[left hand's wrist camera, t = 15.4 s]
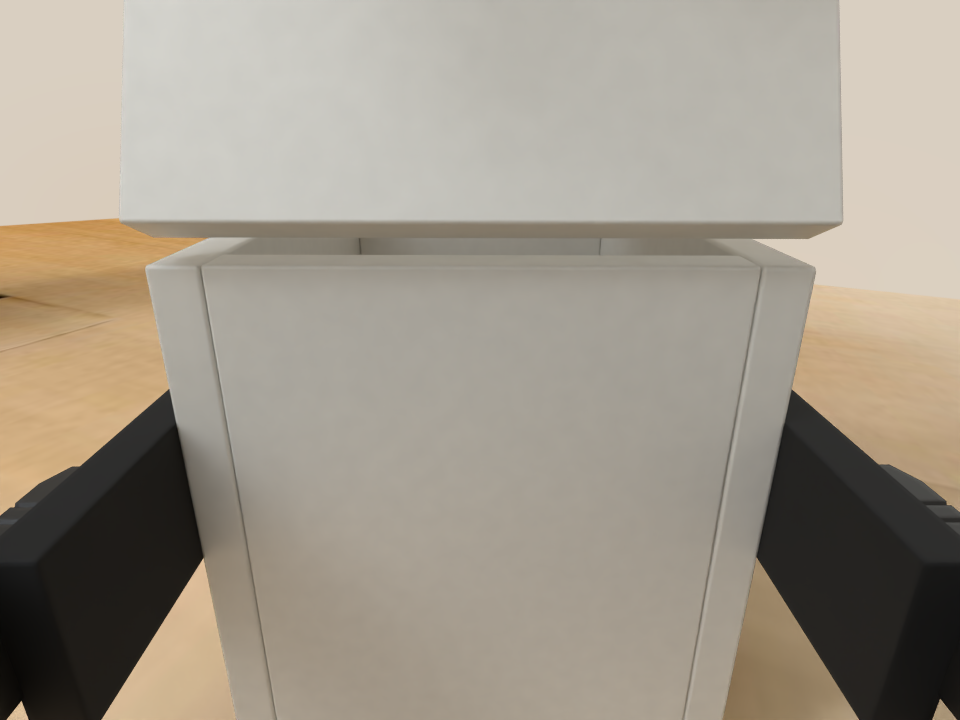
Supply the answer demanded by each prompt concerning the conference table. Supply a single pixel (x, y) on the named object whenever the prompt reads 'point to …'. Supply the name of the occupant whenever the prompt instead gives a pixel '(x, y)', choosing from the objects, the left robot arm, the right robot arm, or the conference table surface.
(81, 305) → the conference table surface
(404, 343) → the chest
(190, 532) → the left robot arm
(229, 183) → the lid
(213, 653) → the conference table surface
